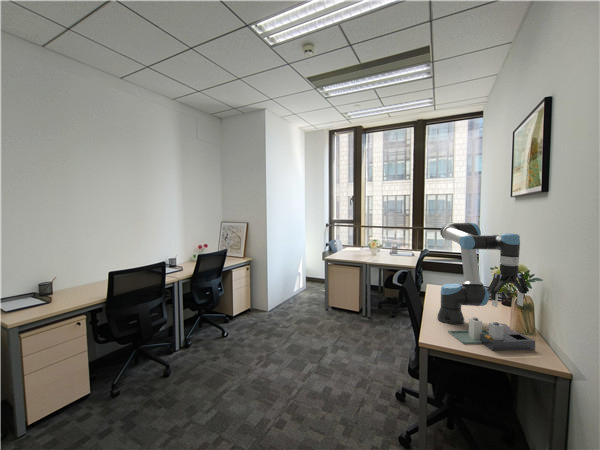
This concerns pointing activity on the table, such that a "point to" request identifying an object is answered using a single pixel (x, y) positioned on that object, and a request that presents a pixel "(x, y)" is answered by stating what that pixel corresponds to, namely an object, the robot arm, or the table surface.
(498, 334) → the twin plug
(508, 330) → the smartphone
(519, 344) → the strip
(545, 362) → the table surface
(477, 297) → the robot arm
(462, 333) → the tray
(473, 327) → the plug
